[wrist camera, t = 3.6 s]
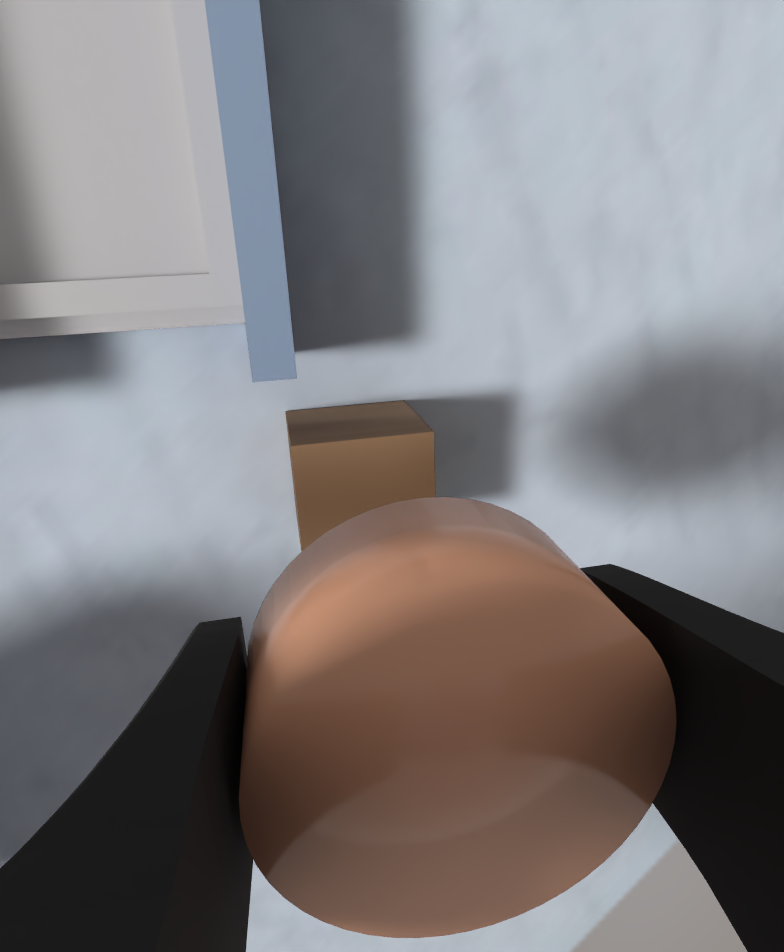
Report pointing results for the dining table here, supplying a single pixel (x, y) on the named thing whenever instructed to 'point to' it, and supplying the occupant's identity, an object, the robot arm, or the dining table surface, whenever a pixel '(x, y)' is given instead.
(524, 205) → the dining table surface
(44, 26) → the tray
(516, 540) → the cylinder
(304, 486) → the brown cube block
